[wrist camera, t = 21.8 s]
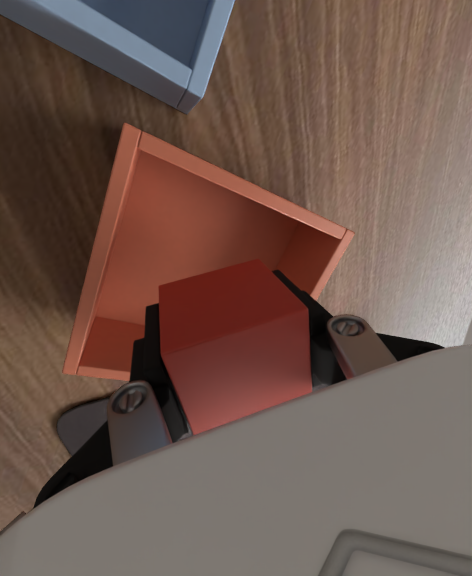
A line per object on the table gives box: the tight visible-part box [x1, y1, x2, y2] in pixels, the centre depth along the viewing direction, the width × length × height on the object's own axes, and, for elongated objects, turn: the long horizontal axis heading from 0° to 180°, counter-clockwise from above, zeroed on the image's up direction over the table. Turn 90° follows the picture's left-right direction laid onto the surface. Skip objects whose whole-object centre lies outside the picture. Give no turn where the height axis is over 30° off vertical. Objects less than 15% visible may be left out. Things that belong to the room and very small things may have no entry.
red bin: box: [62, 123, 355, 381], centre depth 15 cm, size 11×11×5 cm
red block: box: [158, 259, 312, 435], centre depth 11 cm, size 4×4×4 cm
